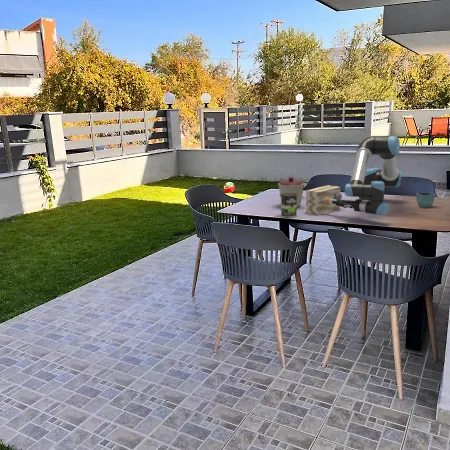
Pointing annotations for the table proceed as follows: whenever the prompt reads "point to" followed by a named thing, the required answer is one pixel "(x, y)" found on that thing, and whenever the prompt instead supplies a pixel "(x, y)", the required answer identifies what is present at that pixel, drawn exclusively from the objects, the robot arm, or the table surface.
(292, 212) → the coffee can
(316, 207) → the stand
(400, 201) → the table surface
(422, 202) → the flower pot
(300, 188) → the canister
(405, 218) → the table surface
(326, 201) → the terracotta plunger
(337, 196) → the grey plunger
